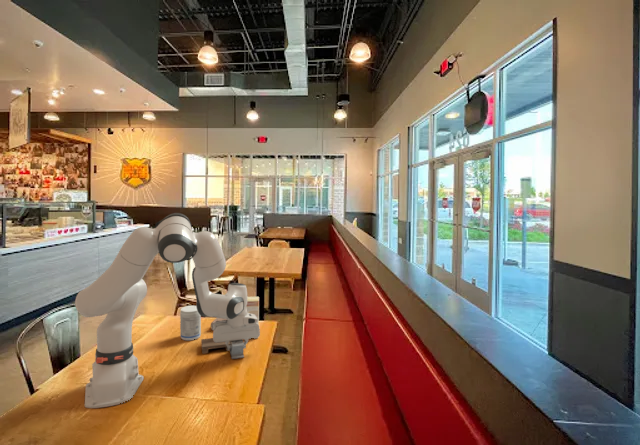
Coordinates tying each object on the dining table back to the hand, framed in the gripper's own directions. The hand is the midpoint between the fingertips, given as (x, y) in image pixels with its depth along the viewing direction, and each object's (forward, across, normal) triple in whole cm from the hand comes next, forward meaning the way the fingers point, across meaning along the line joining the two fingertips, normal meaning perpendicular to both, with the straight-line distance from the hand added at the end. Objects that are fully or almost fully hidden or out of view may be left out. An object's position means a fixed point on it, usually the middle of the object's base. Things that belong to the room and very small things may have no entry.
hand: (236, 348), depth 157 cm
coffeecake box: (+3, +6, +19) cm, 20 cm away
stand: (+3, -8, +10) cm, 13 cm away
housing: (+2, 0, 0) cm, 2 cm away
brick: (+3, 0, +31) cm, 32 cm away
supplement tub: (+3, -19, +26) cm, 32 cm away
